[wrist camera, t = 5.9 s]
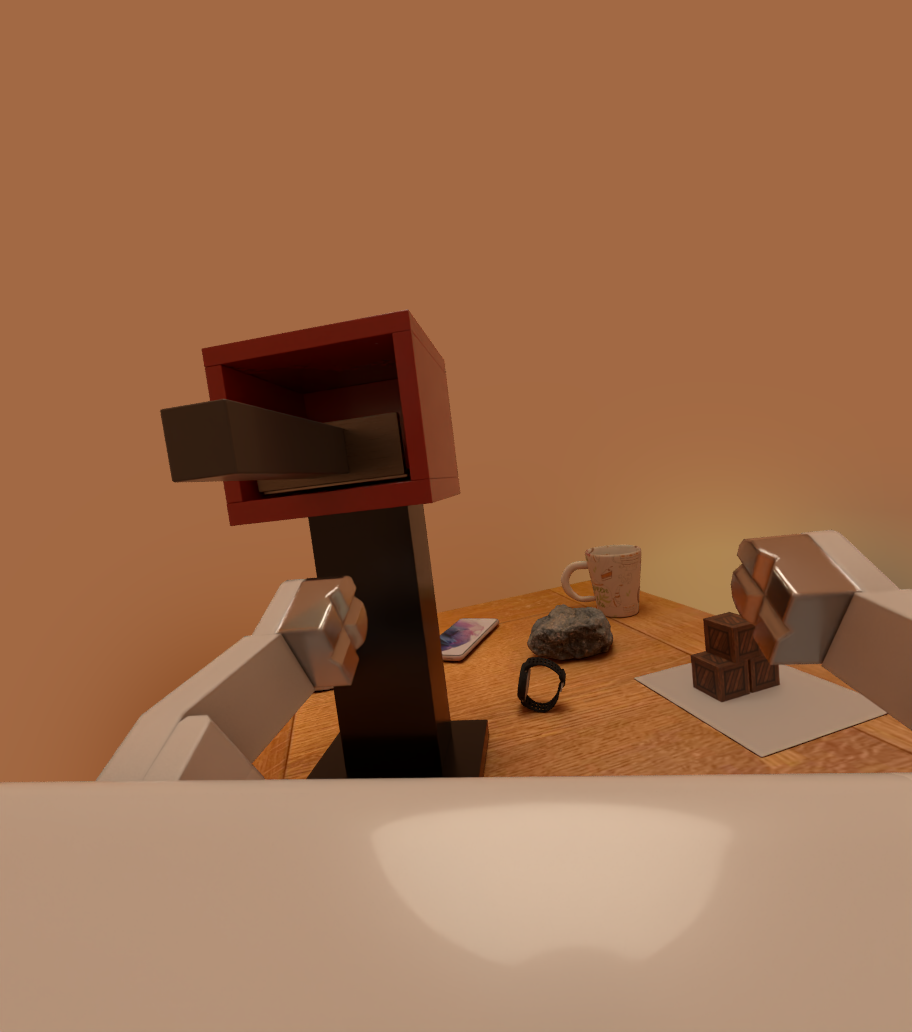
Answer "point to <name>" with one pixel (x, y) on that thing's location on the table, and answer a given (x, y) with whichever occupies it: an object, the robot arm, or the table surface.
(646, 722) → the table surface
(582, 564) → the mug
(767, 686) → the stack of crates
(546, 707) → the smartwatch
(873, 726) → the table surface
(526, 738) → the table surface
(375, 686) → the stand
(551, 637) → the rock
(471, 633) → the smartphone
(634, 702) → the table surface
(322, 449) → the brown piece
